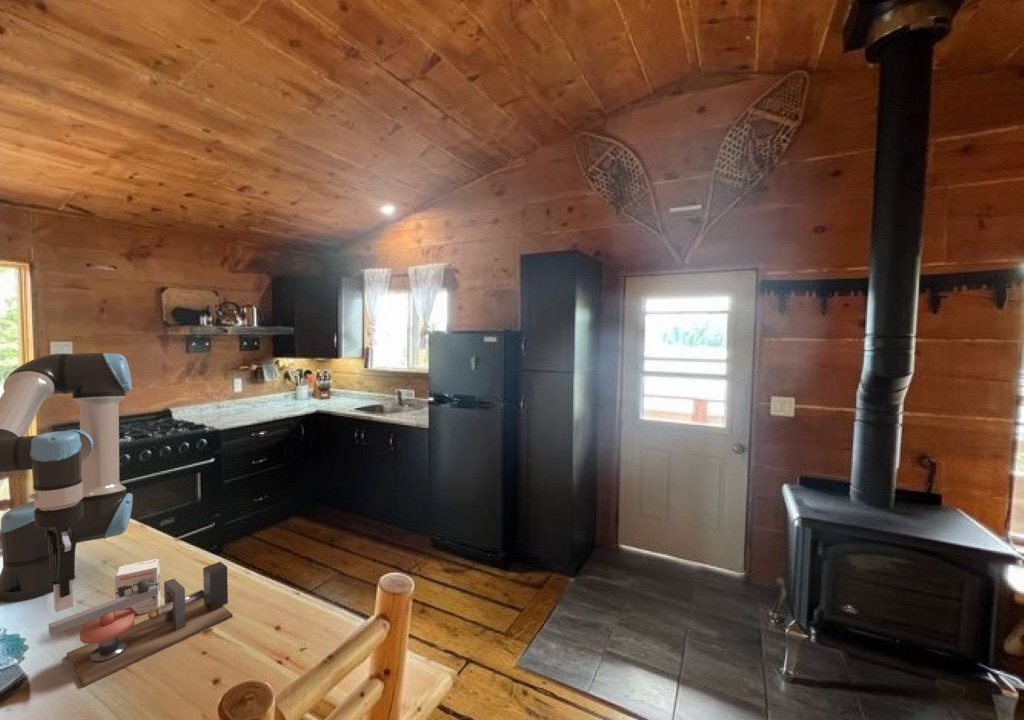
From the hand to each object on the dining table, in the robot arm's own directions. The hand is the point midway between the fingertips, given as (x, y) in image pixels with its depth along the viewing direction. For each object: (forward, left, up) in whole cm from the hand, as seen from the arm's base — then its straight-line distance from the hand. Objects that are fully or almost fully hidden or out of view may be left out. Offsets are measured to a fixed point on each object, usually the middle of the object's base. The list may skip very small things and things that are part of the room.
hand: (63, 608), depth 100 cm
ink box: (-7, +15, -11) cm, 20 cm away
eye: (+8, +18, -11) cm, 22 cm away
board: (+8, +14, -11) cm, 19 cm away
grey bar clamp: (+8, +21, -10) cm, 24 cm away
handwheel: (+8, +5, -5) cm, 11 cm away
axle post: (+8, +6, -11) cm, 14 cm away
